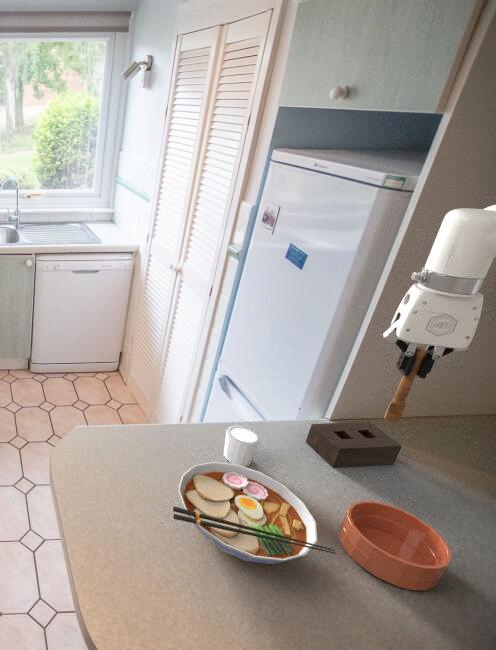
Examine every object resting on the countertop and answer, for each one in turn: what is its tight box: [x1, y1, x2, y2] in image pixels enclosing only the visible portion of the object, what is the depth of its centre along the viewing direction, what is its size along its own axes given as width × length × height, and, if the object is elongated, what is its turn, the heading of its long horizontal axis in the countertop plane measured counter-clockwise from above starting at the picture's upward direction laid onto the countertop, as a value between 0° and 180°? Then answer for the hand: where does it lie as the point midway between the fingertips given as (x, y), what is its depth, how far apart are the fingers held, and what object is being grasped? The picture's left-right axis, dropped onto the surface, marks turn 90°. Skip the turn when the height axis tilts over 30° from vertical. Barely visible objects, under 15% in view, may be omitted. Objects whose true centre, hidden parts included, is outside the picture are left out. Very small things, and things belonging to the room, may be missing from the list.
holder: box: [305, 421, 403, 469], centre depth 106 cm, size 9×15×6 cm, turn 93°
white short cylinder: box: [223, 424, 261, 468], centre depth 104 cm, size 7×7×7 cm
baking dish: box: [338, 500, 453, 591], centre depth 81 cm, size 14×14×6 cm
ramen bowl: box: [172, 461, 336, 565], centre depth 85 cm, size 25×23×8 cm
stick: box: [383, 345, 428, 423], centre depth 86 cm, size 2×2×16 cm
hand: (410, 373), depth 85 cm, fingers closed on stick, 1 cm apart
